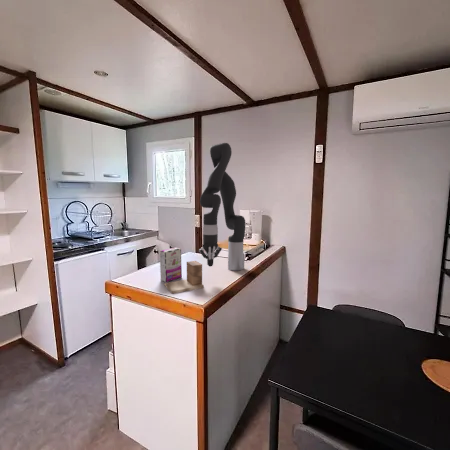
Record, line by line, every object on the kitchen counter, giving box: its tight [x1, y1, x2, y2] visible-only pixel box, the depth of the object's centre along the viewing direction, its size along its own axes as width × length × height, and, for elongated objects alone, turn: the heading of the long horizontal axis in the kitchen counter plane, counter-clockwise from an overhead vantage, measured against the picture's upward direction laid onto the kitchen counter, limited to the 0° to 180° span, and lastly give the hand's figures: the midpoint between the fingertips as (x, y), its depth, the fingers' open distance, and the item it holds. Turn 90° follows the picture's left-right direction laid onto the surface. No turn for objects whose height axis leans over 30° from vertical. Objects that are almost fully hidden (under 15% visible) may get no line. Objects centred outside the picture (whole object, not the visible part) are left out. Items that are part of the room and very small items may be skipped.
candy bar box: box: [159, 246, 183, 283], centre depth 137 cm, size 11×5×16 cm, turn 143°
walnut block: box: [186, 260, 203, 286], centre depth 129 cm, size 5×8×10 cm, turn 30°
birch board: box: [164, 279, 205, 294], centre depth 127 cm, size 16×12×1 cm
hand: (210, 266), depth 133 cm, fingers closed
